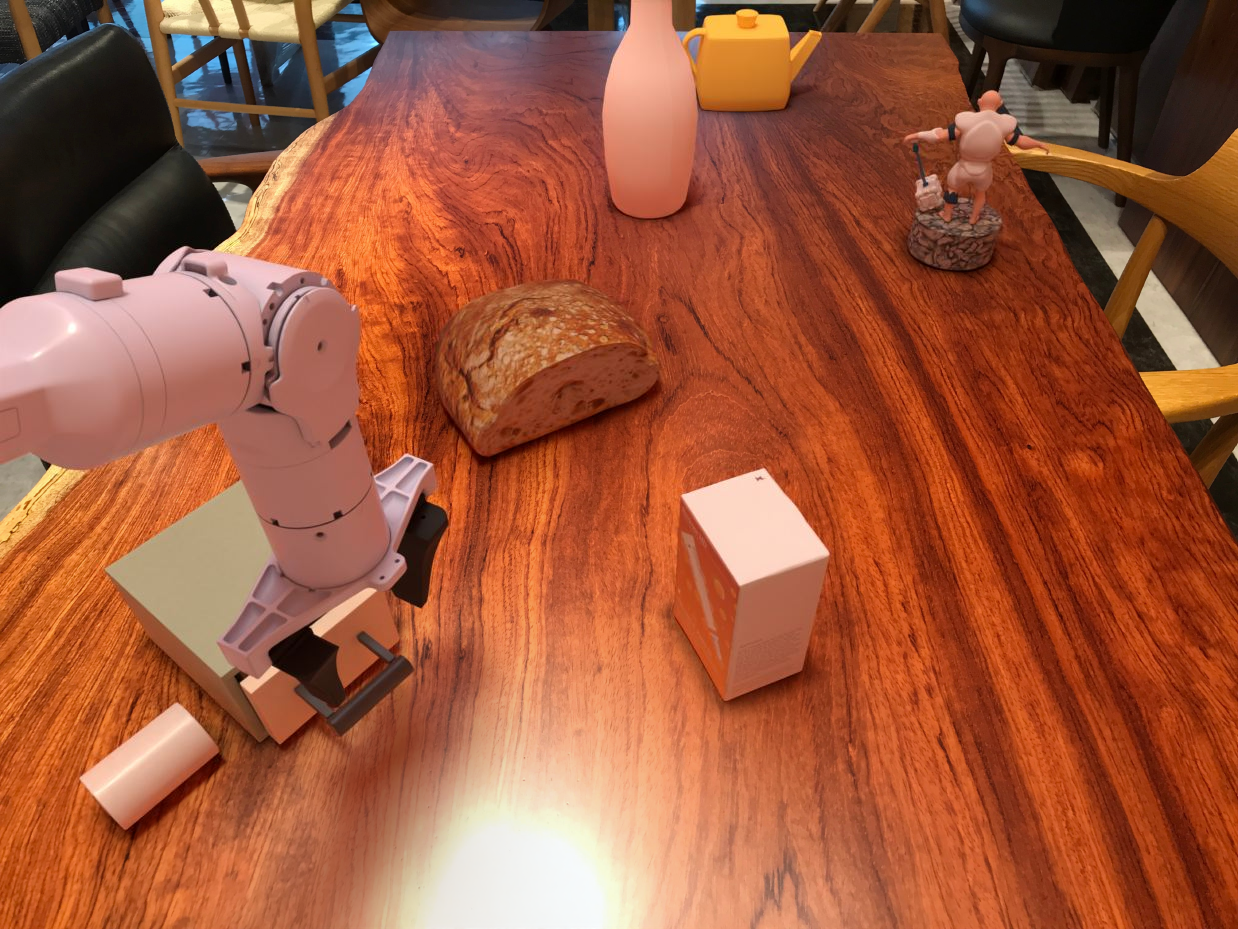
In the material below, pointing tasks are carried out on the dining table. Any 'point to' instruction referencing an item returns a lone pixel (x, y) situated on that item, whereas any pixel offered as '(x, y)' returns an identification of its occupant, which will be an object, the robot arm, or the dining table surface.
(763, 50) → the teapot
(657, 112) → the bottle
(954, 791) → the dining table surface
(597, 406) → the bread
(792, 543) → the small box
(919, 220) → the figurine
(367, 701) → the drawer
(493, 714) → the dining table surface
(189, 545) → the cabinet
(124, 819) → the paper towel roll
